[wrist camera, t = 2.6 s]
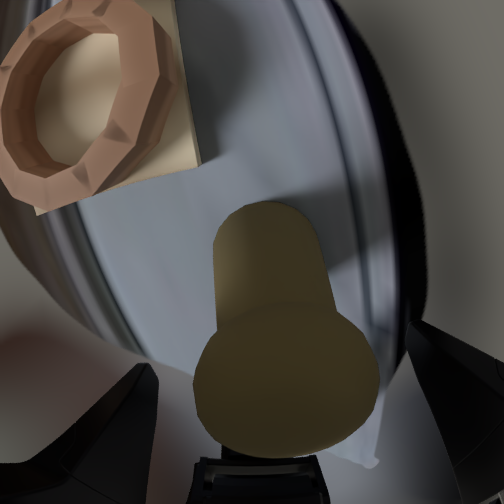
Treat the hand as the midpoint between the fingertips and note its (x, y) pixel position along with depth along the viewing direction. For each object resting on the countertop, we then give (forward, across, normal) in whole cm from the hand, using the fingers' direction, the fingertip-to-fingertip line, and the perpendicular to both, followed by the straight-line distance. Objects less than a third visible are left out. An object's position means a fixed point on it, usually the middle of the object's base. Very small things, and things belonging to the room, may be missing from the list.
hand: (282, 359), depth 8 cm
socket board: (+8, +8, -11) cm, 16 cm away
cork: (+8, 0, 0) cm, 8 cm away
